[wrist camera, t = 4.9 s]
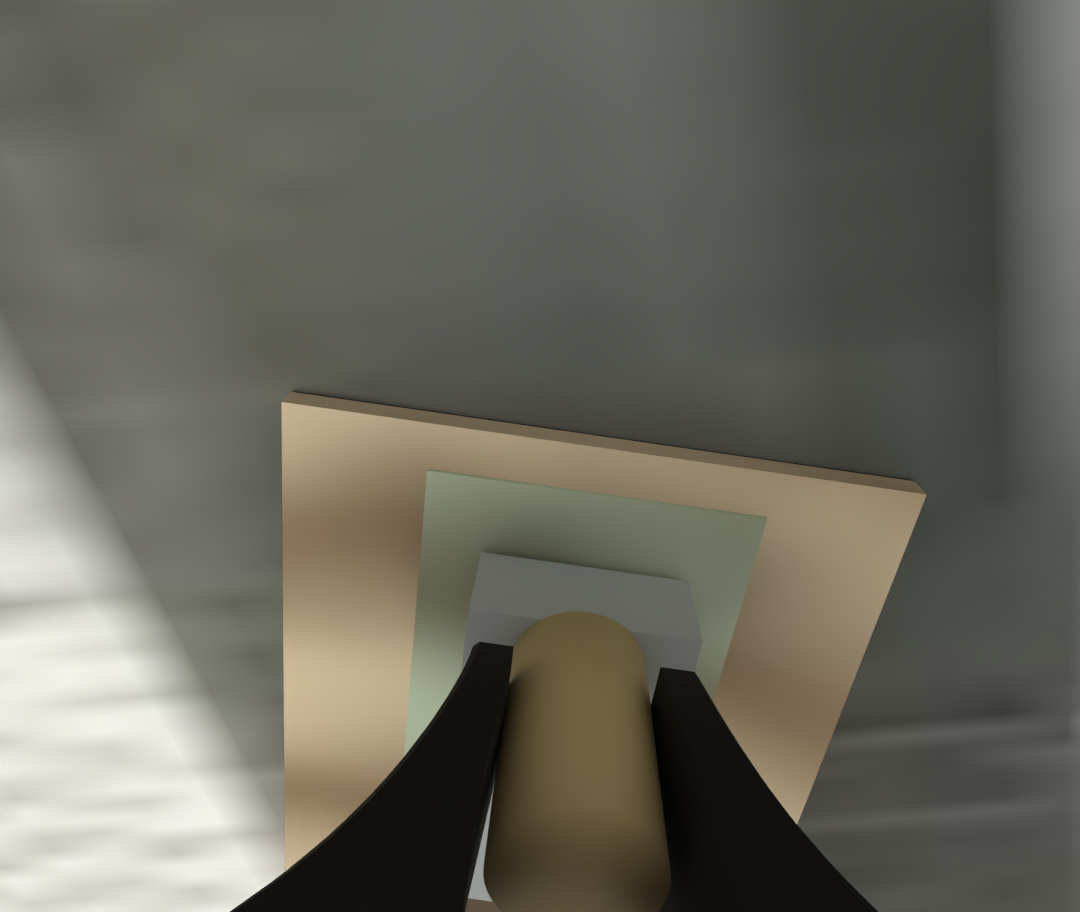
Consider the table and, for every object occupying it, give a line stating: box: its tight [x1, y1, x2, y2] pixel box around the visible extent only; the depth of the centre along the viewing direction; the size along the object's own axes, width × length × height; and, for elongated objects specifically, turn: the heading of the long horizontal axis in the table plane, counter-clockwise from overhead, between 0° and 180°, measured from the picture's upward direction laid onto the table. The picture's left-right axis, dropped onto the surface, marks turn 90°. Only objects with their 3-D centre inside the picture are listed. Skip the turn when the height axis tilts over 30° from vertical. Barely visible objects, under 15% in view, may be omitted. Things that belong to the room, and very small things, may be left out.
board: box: [282, 392, 927, 912], centre depth 20 cm, size 23×13×1 cm, turn 172°
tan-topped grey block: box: [461, 552, 703, 912], centre depth 15 cm, size 8×4×6 cm, turn 172°
